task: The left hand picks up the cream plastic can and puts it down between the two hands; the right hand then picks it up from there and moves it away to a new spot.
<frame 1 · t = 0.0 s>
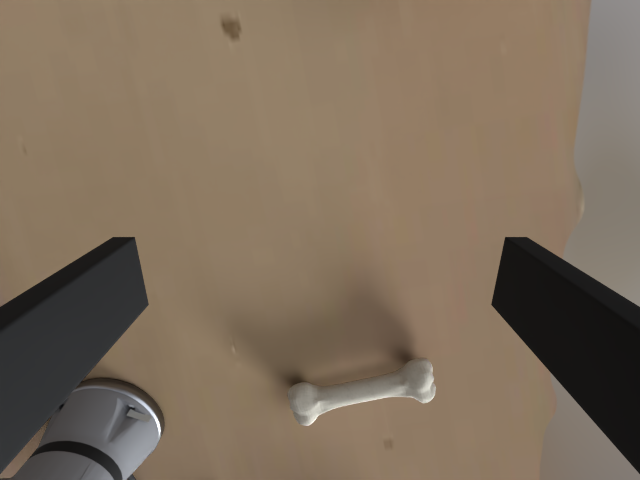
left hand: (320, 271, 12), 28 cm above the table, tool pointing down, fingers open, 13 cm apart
dog toy: (359, 377, 50), on the table
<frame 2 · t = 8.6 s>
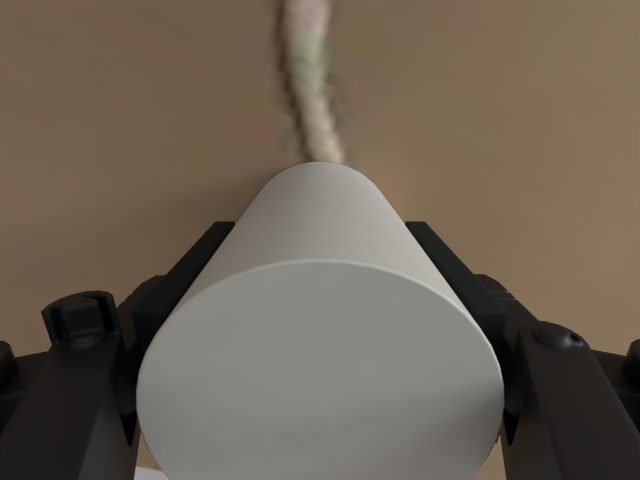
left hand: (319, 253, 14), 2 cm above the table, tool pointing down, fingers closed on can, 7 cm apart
can: (320, 234, 16), on the table, touching left hand
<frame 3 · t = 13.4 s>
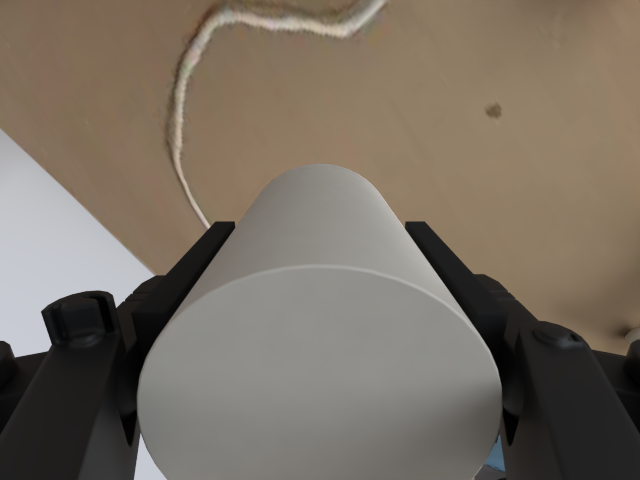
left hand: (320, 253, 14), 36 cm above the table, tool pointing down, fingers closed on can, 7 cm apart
can: (319, 236, 16), point 33 cm above the table, touching left hand
when the left hand's fingers open (3 cm above the table, at t = 18.3 s): can drops 1 cm, on the table.
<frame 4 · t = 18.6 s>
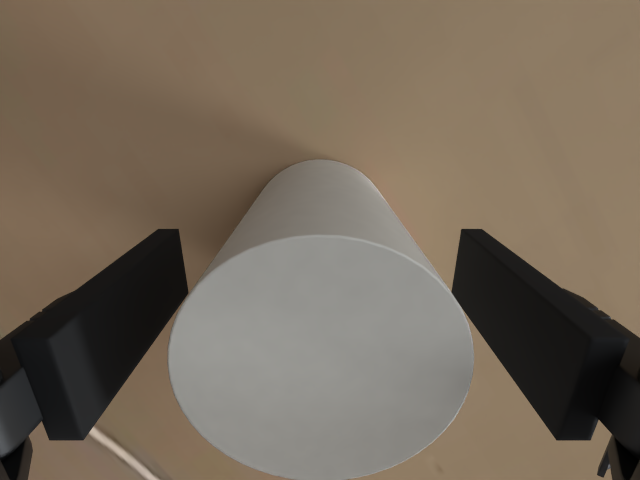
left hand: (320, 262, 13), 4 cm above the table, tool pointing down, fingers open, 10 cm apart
can: (320, 227, 17), on the table
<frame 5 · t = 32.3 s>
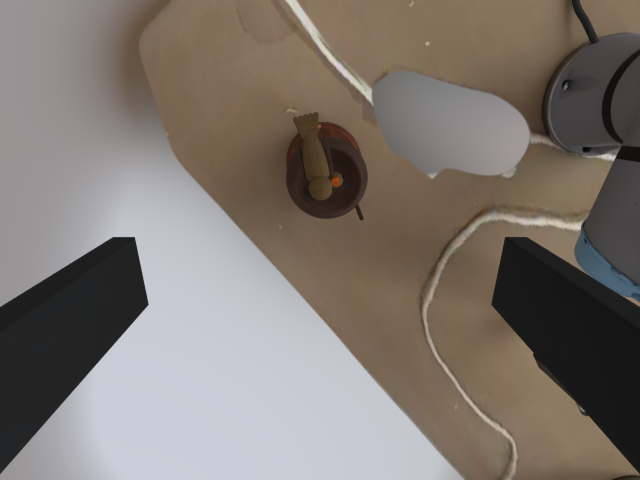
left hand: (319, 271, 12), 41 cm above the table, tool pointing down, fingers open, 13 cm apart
music box: (326, 163, 51), on the table
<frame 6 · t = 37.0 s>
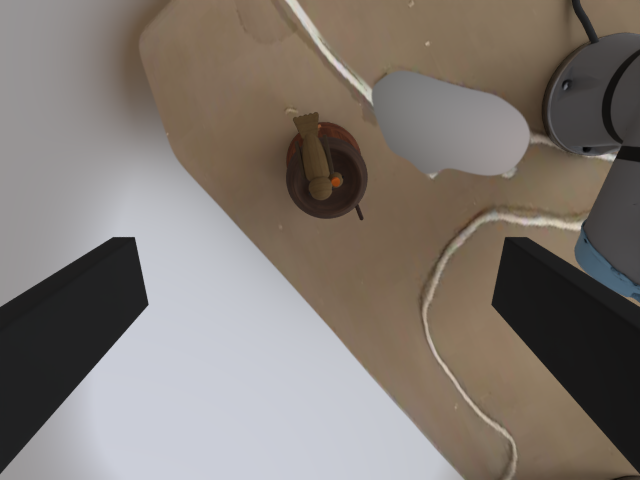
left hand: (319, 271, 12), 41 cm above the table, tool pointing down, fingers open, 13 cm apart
music box: (326, 163, 51), on the table
when the right hand's fingers open (3 cm above the table, at t = 41.8 s): can drops 1 cm, on the table.
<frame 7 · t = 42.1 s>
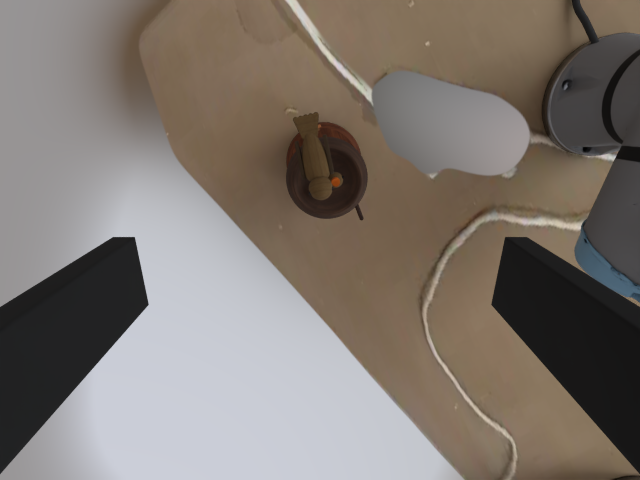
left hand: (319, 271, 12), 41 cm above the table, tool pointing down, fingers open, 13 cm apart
music box: (326, 163, 51), on the table
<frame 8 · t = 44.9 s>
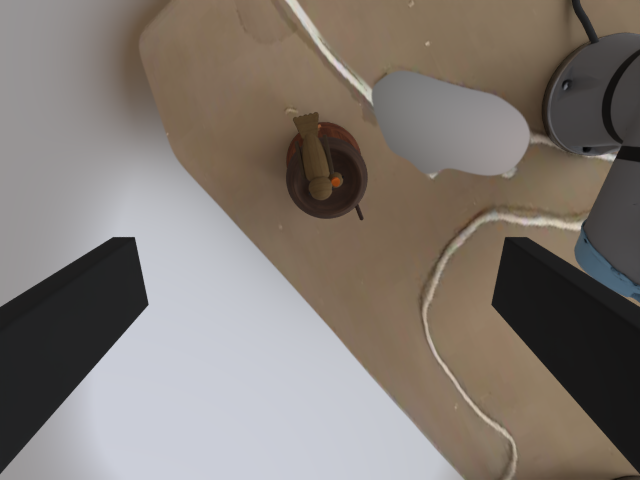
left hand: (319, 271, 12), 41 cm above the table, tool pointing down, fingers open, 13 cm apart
music box: (326, 163, 51), on the table
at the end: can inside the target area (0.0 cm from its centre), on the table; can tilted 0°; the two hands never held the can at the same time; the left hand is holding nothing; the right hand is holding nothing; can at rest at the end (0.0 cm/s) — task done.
